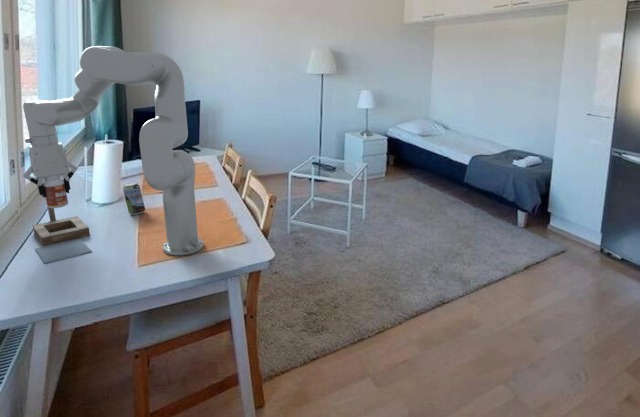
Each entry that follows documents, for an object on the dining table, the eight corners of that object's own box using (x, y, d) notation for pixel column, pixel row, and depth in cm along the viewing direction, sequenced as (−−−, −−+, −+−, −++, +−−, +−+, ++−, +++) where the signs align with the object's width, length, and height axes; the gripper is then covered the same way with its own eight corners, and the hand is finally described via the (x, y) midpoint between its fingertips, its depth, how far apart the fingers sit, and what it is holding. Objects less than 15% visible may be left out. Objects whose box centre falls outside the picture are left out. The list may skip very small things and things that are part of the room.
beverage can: (139, 217, 171) (136, 186, 167) (122, 215, 173) (118, 185, 169) (149, 211, 177) (145, 182, 173) (132, 210, 178) (128, 180, 174)
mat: (91, 252, 142) (91, 250, 142) (44, 264, 134) (44, 262, 134) (79, 239, 151) (79, 238, 151) (35, 249, 143) (35, 248, 143)
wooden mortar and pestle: (90, 235, 154) (82, 191, 149) (43, 246, 145) (33, 199, 140) (74, 219, 168) (66, 178, 162) (30, 228, 159) (21, 185, 153)
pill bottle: (60, 209, 147) (53, 176, 144) (43, 208, 148) (35, 175, 145) (72, 203, 153) (66, 171, 149) (56, 202, 154) (49, 170, 150)
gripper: (14, 145, 135) (28, 202, 141) (77, 138, 146) (87, 191, 152) (10, 142, 141) (23, 197, 147) (71, 135, 151) (80, 186, 157)
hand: (55, 193), depth 149 cm, fingers closed on pill bottle, 6 cm apart
